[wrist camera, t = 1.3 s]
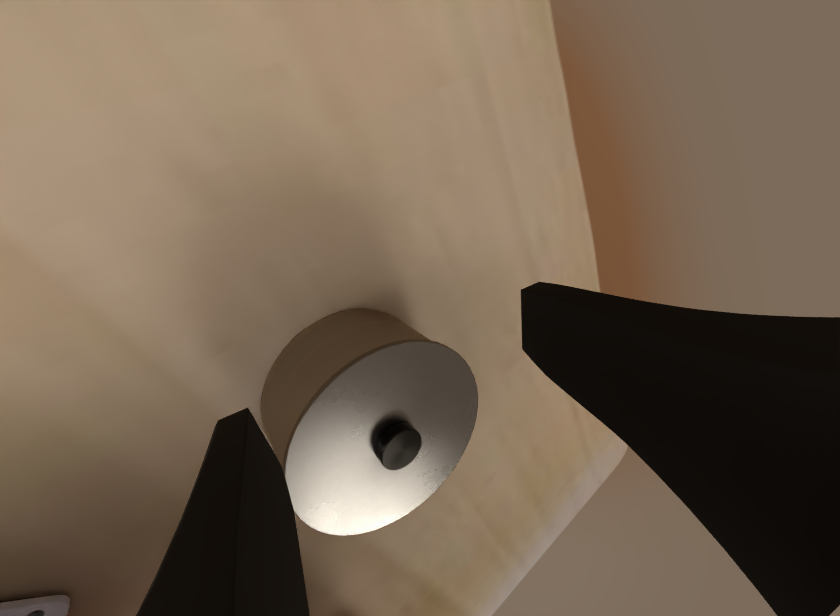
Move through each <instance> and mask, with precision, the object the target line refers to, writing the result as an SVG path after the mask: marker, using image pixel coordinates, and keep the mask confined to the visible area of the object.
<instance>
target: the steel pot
mask: <svg viewBox="0 0 840 616" xmlns="http://www.w3.org/2000/svg"><path fill="white" fill-rule="evenodd" d="M477 409H478V392H477V385H476V381H475V378H474V375H473V373H472V371H471V368H470V367H469V365H468V364H467V363H466V361H465V360H464V359H463V358H462V357H461V356H460V355H459V354H458V353H457V352H455V351H454V350H452V349H451V348H449V347H448V346H445V345H443V344H441V343H438V342H435V341H431V340H429V339H428V338H426V337H425V336H423V335H422V334H420V333H419V332H417V331H416V330H414V329H413V328H411V327H410V326H408V325H407V324H405V323H404V322H402V321H401V320H399V319H398V318H396V317H395V316H393V315H390V314H388V313H386V312H382V311H378V310H372V309H354V310H348V311H343V312H339V313H336V314H333V315H330V316H328V317H326V318H323V319H321V320H319V321H318V322H316V323H314V324H312V325H311V326H309V327H308V328H306V329H305V330H304V331H302V332H301V333H300V334H299V335H297V336H296V337H295V338H294V339H293V340H292V341H291V342H290V343H289V344H288V345H287V346H286V348H285V349H284V350H283V351H282V352H281V354H280V355H279V357H278V358H277V360H276V361H275V362H274V364H273V366H272V368H271V370H270V372H269V374H268V377H267V379H266V382H265V385H264V389H263V393H262V399H261V415H262V422H263V425H264V429H265V431H266V434H267V436H268V439H269V441H270V443H271V446H272V448H273V450H274V453H275V455H276V457H277V459H278V461H279V462H280V464H281V466H282V469H283V472H284V476H285V479H286V483H287V486H288V490H289V494H290V497H291V501H292V505H293V509H294V513H295V514H296V515H297V516H298V517H299V519H300V520H301V521H303V522H304V523H305V524H306V525H308V526H309V527H311V528H313V529H315V530H317V531H319V532H323V533H326V534H331V535H339V536H342V535H356V534H362V533H366V532H370V531H373V530H376V529H379V528H381V527H384V526H386V525H388V524H390V523H392V522H394V521H396V520H398V519H400V518H402V517H403V516H405V515H407V514H408V513H410V512H411V511H412V510H414V509H415V508H416V507H418V506H419V505H420V504H422V503H423V502H424V501H425V500H426V499H427V498H429V497H430V496H431V495H432V494H433V493H434V492H435V491H436V490H437V489H438V488H439V487H440V485H441V484H442V483H443V482H444V481H445V480H446V479H447V477H448V476H449V475H450V473H451V472H452V471H453V469H454V468H455V466H456V465H457V463H458V462H459V460H460V458H461V456H462V455H463V453H464V451H465V449H466V447H467V445H468V442H469V440H470V438H471V435H472V432H473V429H474V425H475V421H476V417H477Z"/></svg>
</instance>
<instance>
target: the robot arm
mask: <svg viewBox="0 0 840 616" xmlns="http://www.w3.org/2000/svg"><path fill="white" fill-rule="evenodd" d="M521 316H522V349H523V350H524V352H525V353H526V354H527V355H528V356H529V357H530V358H531V360H532V361H533V362H534V363H535V364H536V365H537V366H538V367H539V368H540V369H541V370H542V371H543V373H544V374H545V375H546V376H547V377H549V378H550V379H551V380H552V381H553V382H554V383H556V384H557V385H558V386H559V387H560V388H561V389H563V390H564V391H565V392H566V393H567V394H568V395H570V396H571V397H572V398H573V399H574V400H576V401H577V402H578V403H579V404H581V405H582V406H583V407H584V408H585V409H587V410H588V411H589V412H590V413H591V414H593V415H594V416H595V417H596V418H597V419H599V420H600V421H601V422H602V423H603V424H605V425H606V426H607V427H608V428H609V429H611V430H612V431H613V432H614V433H615V434H616V435H617V436H619V437H620V438H621V439H622V440H623V441H624V442H625V443H626V444H627V445H628V446H629V447H631V449H632V450H633V451H634V452H635V453H636V454H637V455H638V456H639V457H640V458H641V459H642V460H643V461H644V462H645V463H646V464H647V465H648V466H649V467H650V468H651V469H652V470H653V471H654V472H655V473H656V474H657V475H658V476H659V477H660V478H661V479H662V480H663V481H664V482H665V483H666V484H667V485H668V487H669V488H670V489H671V490H672V491H673V492H674V493H675V494H676V495H677V496H678V497H679V498H680V499H681V500H682V501H683V503H684V504H685V505H686V506H687V507H688V508H689V509H690V510H691V512H692V513H693V514H694V515H695V516H696V517H697V518H698V519H699V521H700V522H701V523H702V524H703V525H704V526H705V528H706V529H707V530H708V531H709V532H710V533H711V534H712V536H713V537H714V538H715V539H716V540H717V541H718V542H719V544H720V545H721V546H722V547H723V548H724V549H725V551H726V552H727V553H728V554H729V556H730V557H731V558H732V559H733V560H734V562H735V563H736V564H737V565H738V566H739V568H740V569H741V570H742V571H743V573H744V574H745V575H746V576H747V578H748V579H749V580H750V581H751V582H752V583H753V585H754V586H755V587H756V589H757V590H758V591H759V592H760V594H761V595H762V596H763V598H764V599H765V600H766V601H767V603H768V604H769V605H770V607H771V608H772V609H773V611H774V612H775V613H776V614H777V616H829V615H830V614H831V613H832V612H833V611H834V610H835V609H836V608H837V607H838V606H839V605H840V318H839V317H838V318H837V317H834V318H832V317H831V318H829V317H790V316H768V315H767V316H766V315H751V314H737V313H727V312H717V311H707V310H698V309H690V308H683V307H677V306H670V305H664V304H657V303H651V302H645V301H639V300H634V299H629V298H624V297H619V296H614V295H609V294H604V293H599V292H594V291H589V290H584V289H579V288H574V287H569V286H564V285H558V284H552V283H544V282H538V283H535V284H533V285H531V286H528V287H526V288H524V289H521ZM69 605H70V598H69V597H68V596H66V595H53V596H46V597H38V598H31V599H24V600H16V601H9V602H2V603H0V616H66V615H67V613H68V610H69ZM37 610H41V611H39V612H35V613H31V612H34V611H37ZM136 616H310V615H309V608H308V602H307V595H306V588H305V581H304V575H303V568H302V561H301V554H300V547H299V541H298V534H297V528H296V521H295V515H294V509H293V505H292V501H291V497H290V494H289V490H288V486H287V483H286V479H285V476H284V472H283V469H282V466H281V464H280V462H279V461H278V459H277V457H276V455H275V454H274V452H273V450H272V448H271V447H270V445H269V443H268V442H267V440H266V438H265V436H264V435H263V433H262V431H261V429H260V428H259V426H258V424H257V422H256V421H255V419H254V417H253V416H252V414H251V412H250V410H249V409H248V408H246V409H243V410H241V411H239V412H236V413H234V414H232V415H229V416H227V417H225V418H223V419H220V420H218V422H217V424H216V426H215V428H214V431H213V434H212V437H211V440H210V443H209V446H208V449H207V452H206V454H205V457H204V460H203V463H202V466H201V468H200V471H199V474H198V476H197V479H196V482H195V484H194V487H193V489H192V492H191V494H190V497H189V499H188V502H187V505H186V507H185V510H184V512H183V515H182V517H181V520H180V522H179V524H178V527H177V529H176V531H175V534H174V536H173V538H172V540H171V542H170V545H169V547H168V549H167V551H166V553H165V556H164V558H163V560H162V562H161V565H160V567H159V569H158V571H157V573H156V576H155V578H154V580H153V582H152V584H151V586H150V588H149V590H148V592H147V594H146V596H145V598H144V600H143V602H142V604H141V607H140V608H139V610H138V612H137V614H136Z"/></svg>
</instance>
